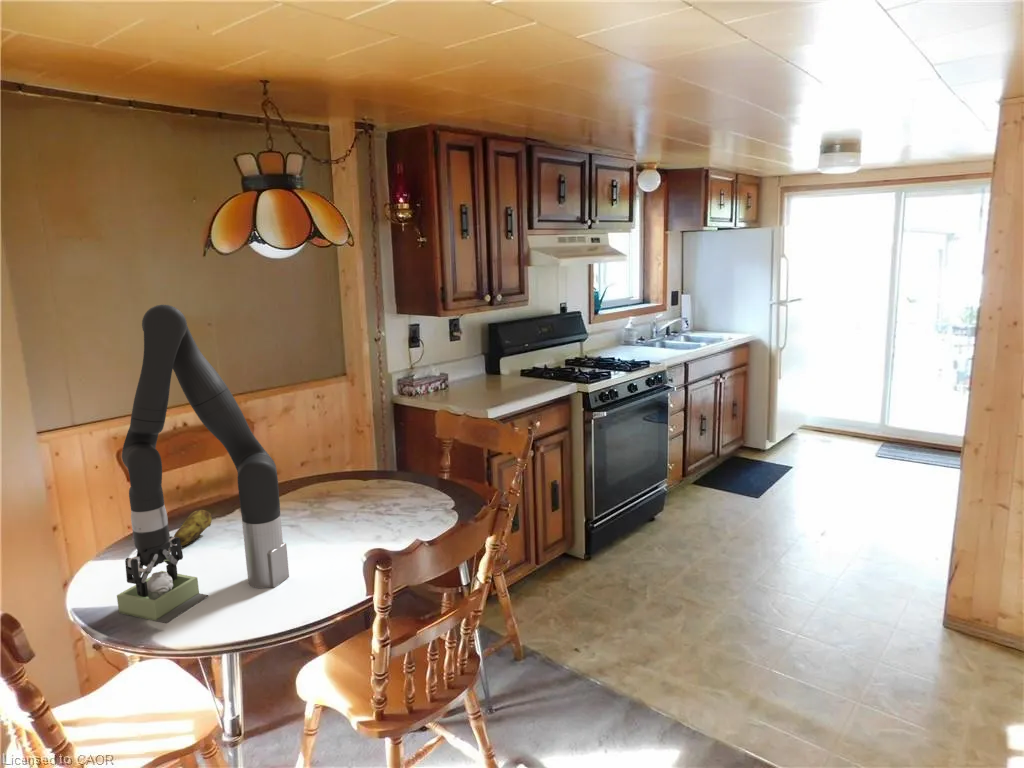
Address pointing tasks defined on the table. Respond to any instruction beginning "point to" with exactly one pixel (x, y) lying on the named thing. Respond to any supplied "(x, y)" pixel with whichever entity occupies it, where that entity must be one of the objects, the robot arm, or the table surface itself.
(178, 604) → the tray
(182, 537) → the potato
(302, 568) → the table surface
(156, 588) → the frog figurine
